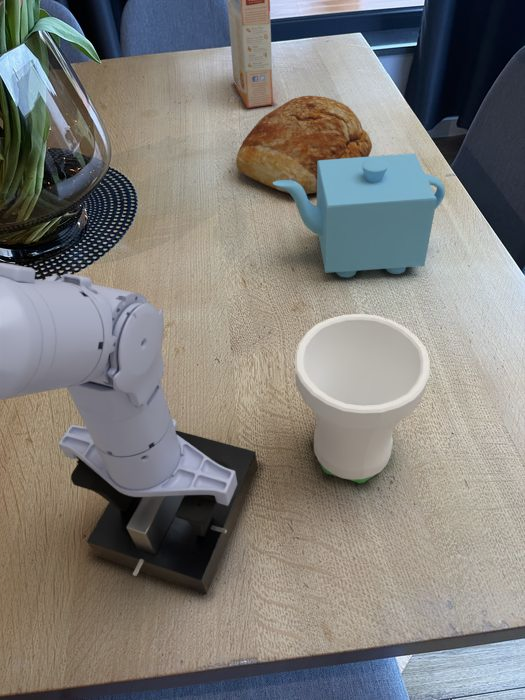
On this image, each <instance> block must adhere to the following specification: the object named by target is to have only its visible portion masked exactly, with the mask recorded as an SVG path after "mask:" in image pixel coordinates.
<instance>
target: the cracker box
mask: <svg viewBox="0 0 525 700" xmlns="http://www.w3.org/2000/svg"><path fill="white" fill-rule="evenodd" d="M226 4H227V17H228V25H229V26H228V28H229V40H230V53H231V65H232V77H233V78H232V79H233V85H234V87H235V89H236V90H237V91H238V94H239V96H240V99H242V101H243V104H244V105H245V107H246V108H247V109H251V108H258V107H265V106H266V107H267V106H271V105H274V92H273V87H274V86H273V59H272V58H273V57H272V32H271V31H272V29H271V0H226ZM234 81H235V82H234ZM235 83H236V84H235Z"/></svg>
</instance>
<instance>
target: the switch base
mask: <svg viewBox="0 0 525 700" xmlns="http://www.w3.org/2000/svg"><path fill="white" fill-rule="evenodd" d="M176 434H177V435H178V436H180V437H181V438H182V439H184V440H185V441H187V442H188V443H189V444H191V445H192V446H193V447H195V448H196V449H198V450H199V451H200V452H202V453H203V454H204V455H206V456H207V457H210V458H214V459H217V460H221V461H224V462H226V463H227V464H228V465H229V468H230V469H231V470H234V471H235V473H236V479H237V486H236V489H235V491H234V494H233V496H232V498H231V500H230V503H229V505H228V506H227V505H223V504H220V503H218V502H217V504H216V506H215V508H214V511H213V518H212V520H211V523H210V525H209V527H208V529H207V532H206V534H205V536H203V537H202V536H199V535H196V534H195V533H194V532H193V530H192V528H191V525H190V524H189V523H188V521H186V520H183V519H179V518H177V517H176V514H177V512H178V510H179V508H180V506H181V503H182V501H183V499H184V497H185V495H184V497H183V499H182V501H181V503H180V506H179V508H178V510H177V512H176V514H175V516H174V518H173V520H172V522H171V524H170V526H169V528H168V530H167V532H166V534H165V536H164V538H163V540H162V542H161V544H160V546H159V548H158V550H157V552H156V554H152V553H149V552H146V551H143V550H140V549H137V547H136V545H135V543H134V541H133V539H132V537H131V536H130V534H129V532H128V530H127V525H128V524H129V522H130V520H131V518H132V516H133V514H134V513H135V511H136V509H137V507H138V505H139V503H140V502H141V500H142V498H143V497H134V498H133V500H132V502H131V504H130V505H129V507H128V509H127V511H126V512H125V511H122V510H119V509H117V508H116V507H115V506H113V505H112V504H111V503H109V502H108V504H107V505H106V507H105V509H104V510H103V512H102V514H101V515H100V517H99V519H98V521H97V523H96V525H95V526H94V528H93V530H92V532H91V533H90V535H89V537H88V538H87V540H86V543H87V544H88V546H89V548H90V549H91V550H92V552H93V553H94V555H95V556H96V557H98V558H102V559H104V560H107V561H109V562H112V563H116V564H119V565H121V566H125V567H127V568H130V569H133V570H134V571H133V572H132V576H134V577H137V576H138V575H139V572H142V573H145V574H148V575H150V576H152V577H155V578H158V579H162V580H164V581H167V582H170V583H173V584H176V585H179V586H181V587H184V588H188V589H190V590H193V591H195V592H199V593H202V594H205V595H207V594H208V592H209V590H210V588H211V585H212V583H213V580H214V577H215V575H216V572H217V570H218V566H219V564H220V562H221V560H222V558H223V555H224V552H225V550H226V547H227V546H228V543H229V540H230V537H231V535H232V532H233V530H234V528H235V525H236V523H237V520H238V518H239V515H240V513H241V511H242V509H243V508H242V507H243V505H244V503H245V500H246V498H247V495H248V493H249V490H250V489H251V488H250V487H251V486H252V483H253V481H254V478H255V475H256V473H257V471H258V460H257V451H255V450H250V449H248V448H245V447H244V448H243V447H240V446H236V445H232V444H228V443H225V442H222V441H218V440H214V439H211V438H207V437H202V436H199V435H195V434H191V433H187V432H184V431H181V430H176Z"/></svg>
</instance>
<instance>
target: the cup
mask: <svg viewBox="0 0 525 700" xmlns="http://www.w3.org/2000/svg"><path fill="white" fill-rule="evenodd" d="M294 375H295V387H296V389H297V391H298V393H299V395H300V397H301V399H302V400H303V402H304V403H305V404H306V405H307V407H309V409H310V410H311V411H312V413H313V415H314V419H315V424H316V425H315V429H314V434H313V453H314V454H315V456H316V459H317V461H318V463H319V465H320V466H321V469H322V470H323V472H324V473H325V474H326V475H331V476H335V477H339V479H345V480H349V481H352V482H355V483H357V484H364V483H365V482H367V481H368V480H370V479H372V478H373V477H375V475H377V474H380V473H382V471H383V470H384V468H385V467H386V466H388V464H389V462H390V458H391V455H392V451H393V440H394V437H393V434H394V430H395V429H396V427H397V425H398V424H399V423H400V422H401V421H402V420H403V421H404V419H406V418H408V417H409V416H411V415H412V413H413V412H414V411H415V410H416V409H417V407H418V406H419V405H420V403H421V401H422V399H423V397H424V394H425V393H426V389H427V386H428V382H429V379H430V375H431V360H430V356H429V352H428V349H427V348H426V346H425V345H424V344H423V342H422V341H421V340H420V338H419V337H418V336H417V335H416V334H414V333H413V332H412V331H411V330H409V329H408V328H407V327H405V326H404V325H401V324H400V323H398V322H396V321H394V320H392V319H388V318H386V317H383V316H380V315H378V314H366V313H352V314H342V315H337V316H335V317H331V318H327V319H325V320H322V321H320V322H318V323H316V324H315V325H313V326H312V327H311V328H310V329H309V330H308V331H307V332H306V333H304V335H303V336H302V338H301V339H300V341H299V343H298V344H297V347H296V351H295V354H294Z"/></svg>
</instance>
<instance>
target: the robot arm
mask: <svg viewBox="0 0 525 700" xmlns="http://www.w3.org/2000/svg"><path fill="white" fill-rule="evenodd" d="M35 278H36V270H35V269H34V268H32V267H27V266H23V265H18V264H13V263H5V262H0V401H3V400H9V399H14V398H19V397H24V396H28V395H34V394H39V393H44V392H50V391H56V390H61V389H65V388H66V389H67V391H68V393H69V395H70V397H71V399H72V402H73V403H74V406H75V408H76V409H77V411H78V414H79V416H80V418H81V420H82V422H83V423H84V426H80V425H75V424H71V425H70V426H69V427H68V429H67V430H66V431H65V433H64V435H62V437H61V438H60V440H59V441H58V444H57V445H58V446H59V447H60V449H61V451H62V453H63V455H64V456H65V458H69V459H71V460H76V459H77V461H76V463H77V464H76V466H75V467H74V469H73V470H72V473H71V474H70V480H71V482H72V484H73V485H74V486H77V487H79V488H83V489H86V490H87V491H88V490H89V491H92V492H94V493H96V494H97V495H99V496H100V497H102V498H103V499H104V500H106V502H108V504H109V503H111V504H112V505H113V506H115V507H116V508H117V509H119V510H122V511H125V512H126V511H127V509H128V507H129V505H130V504H131V502H132V500H133V498H134V497H152V496H179V495H185V497H184V499H183V501H182V503H181V506H180V508H179V510H178V512H177V514H176V517H177V518H179V519H183V520H186V521H188V523H189V524H190V525H191V528H192V530H193V532H194V533H195V534H196V535H199V536H202V537H203V536H205V534H206V532H207V529H208V527H209V525H210V523H211V520H212V518H213V511H214V508H215V506H216V504H217V502H218V503H220V504H223V505H227V506H228V505H229V503H230V500H231V498H232V496H233V494H234V491H235V489H236V486H237V479H236V473H235V471H234V470H231V469H230V468H229V465H228V464H227V463H226V462H224V461H221V460H217V459H214V458H210V457H207V456H206V455H204V454H203V453H202V452H200V451H199V450H198V449H196V448H195V447H193V446H192V445H191V444H189V443H188V442H187V441H185V440H184V439H182V438H181V437H180V436H178V435H177V434H176V430H177V429H178V424H177V421H176V419H175V418H173V417H172V415H171V411H170V407H169V405H168V401H167V397H166V394H165V390H164V387H163V384H162V379H163V377H164V373H165V372H164V368H165V362H164V358H163V352H162V349H163V341H164V331H165V320H164V318H165V317H164V313H163V309H162V308H160V309H159V310H158V308H157V307H156V306H154V305H153V304H151V303H150V301H147V297H146V295H144V294H142V293H140V292H134V291H130V290H125V289H119V288H116V287H115V288H114V287H110V286H106V285H105V286H104V285H100V284H94V283H93V280H92V279H91V278H90V277H89V276H84V275H78V274H71V273H63V274H62V275H61V277H60V275H58V274H53V275H51V276H48V277H46V278H45V279H37V278H36V279H35ZM177 431H178V430H177Z"/></svg>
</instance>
